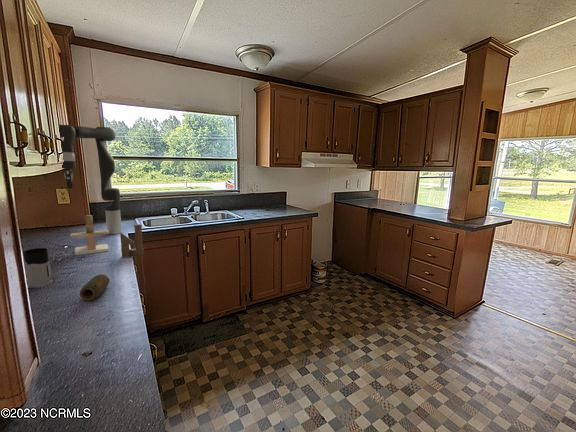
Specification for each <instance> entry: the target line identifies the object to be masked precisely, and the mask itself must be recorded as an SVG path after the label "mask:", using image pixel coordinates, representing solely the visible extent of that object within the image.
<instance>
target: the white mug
mask: <svg viewBox="0 0 576 432" xmlns="http://www.w3.org/2000/svg"><path fill="white" fill-rule="evenodd" d="M59 253H60V254H61V253H62V254H63V255H64V262H63V264H62V266H61V267H60V268H59V269H58V270H56V271H55V273H53V274H52V270H51V264H50V263H53V262H54V261H55V255H56V254H59ZM22 254H23V263H25V266H24V271H25V270H26V273H25V276H26V275H27V280H26V283H27V282H28V288H29V286H30V285H31V286H42V285H46V284H49V283H51V282H52V281H53V277H54V276H55V275H56V274H57V273H58V272H59V271H61V270H62V269H64V267H65V266H66V262H67V255H66V253H65V252H63V251H56V252H54V254H53V255H52V260H51V261H50V260H49V252H48V248H45V247H38V248H31V249H26V250H24V251H23V253H22ZM53 282H54V281H53ZM28 288H27V289H28Z"/></svg>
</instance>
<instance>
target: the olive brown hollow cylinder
mask: <svg viewBox="0 0 576 432" xmlns="http://www.w3.org/2000/svg"><path fill="white" fill-rule="evenodd" d="M109 283H110V278H109V277H108V275H106V274H98V275H95V276H93V277H91V279H90V280H88V281H87V283H85V284H84V285H83V286H82V287H81V289H80V291H79V296H80V298H81V299H82V300H84V301H88V302H89V301H90V302H91V301H93V300H95V299H97V298H98V297H99V296H100V295H101V294H102V293H103V292H104V291H105V290H106V288H107V287H108V285H109Z"/></svg>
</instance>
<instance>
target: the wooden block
mask: <svg viewBox="0 0 576 432" xmlns="http://www.w3.org/2000/svg"><path fill="white" fill-rule="evenodd" d="M142 226H143V225H142V224H141V223H135V224H134V240H135V241H134V240H133V239H131V238H130V237H128V236H127V235H126V234H125V233H123V232H120V233H119V234H120V235H119V236H120V247H121V249H120V251H121V252H120V253H121V257H122V258H123V259H125V258H130V257H137V256H138V257H139V256H144V255H145V251H144V250H145V249H144V246H143V227H142ZM131 245H135V248H130V246H131Z"/></svg>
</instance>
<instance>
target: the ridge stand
mask: <svg viewBox="0 0 576 432" xmlns="http://www.w3.org/2000/svg"><path fill="white" fill-rule="evenodd" d="M85 237H86V246H77V247H75V248H74V256H78V255H79V256H80V255H87V254H94V253H95V254H96V253H103V252H109V245H108V243H105V244H97V243H96V236H85Z"/></svg>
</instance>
